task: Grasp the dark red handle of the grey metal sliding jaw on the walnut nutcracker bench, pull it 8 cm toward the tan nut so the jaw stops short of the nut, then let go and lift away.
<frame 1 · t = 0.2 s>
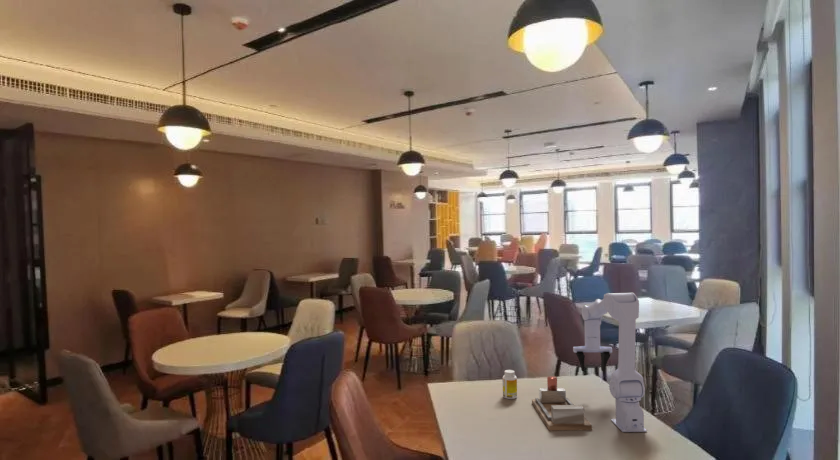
hand: (592, 370, 184), 10 cm above the table, tool pointing down, fingers open, 7 cm apart
supplement bottle: (510, 397, 185), on the table
nutcracker bench: (559, 415, 166), on the table
sliding jaw: (552, 389, 175), point 6 cm above the table, slide at 0.0 cm
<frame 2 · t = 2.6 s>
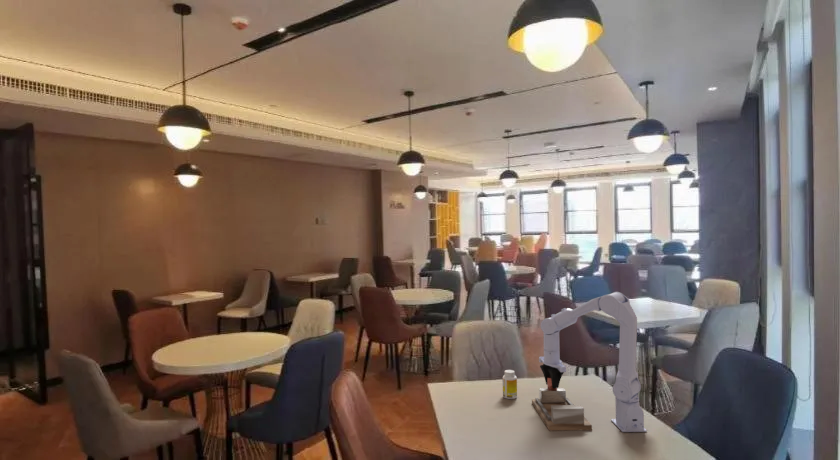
hand: (552, 386, 175), 7 cm above the table, tool pointing down, fingers closed on sliding jaw, 3 cm apart
sliding jaw: (552, 389, 175), point 6 cm above the table, slide at 0.0 cm, touching gripper
everything else where it was.
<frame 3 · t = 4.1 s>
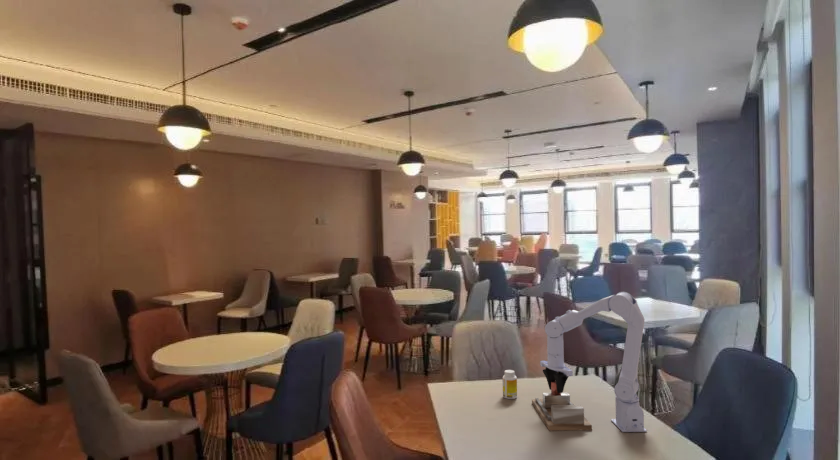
hand: (556, 390, 170), 7 cm above the table, tool pointing down, fingers closed on sliding jaw, 3 cm apart
sliding jaw: (556, 394, 170), point 6 cm above the table, slide at 5.0 cm, touching gripper
everything else where it was.
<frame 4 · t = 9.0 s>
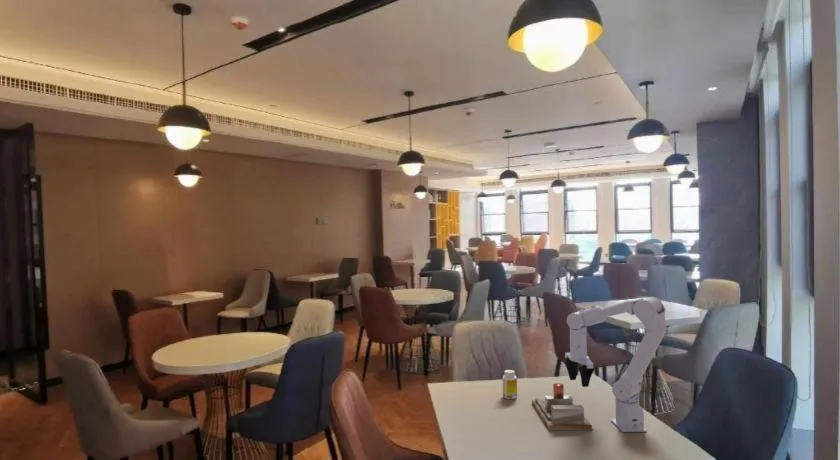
hand: (579, 383, 169), 10 cm above the table, tool pointing down, fingers open, 7 cm apart
sliding jaw: (558, 397, 167), point 6 cm above the table, slide at 8.0 cm
everything else where it was.
at the end: sliding jaw slide at 8.0 cm; the gripper is holding nothing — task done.
